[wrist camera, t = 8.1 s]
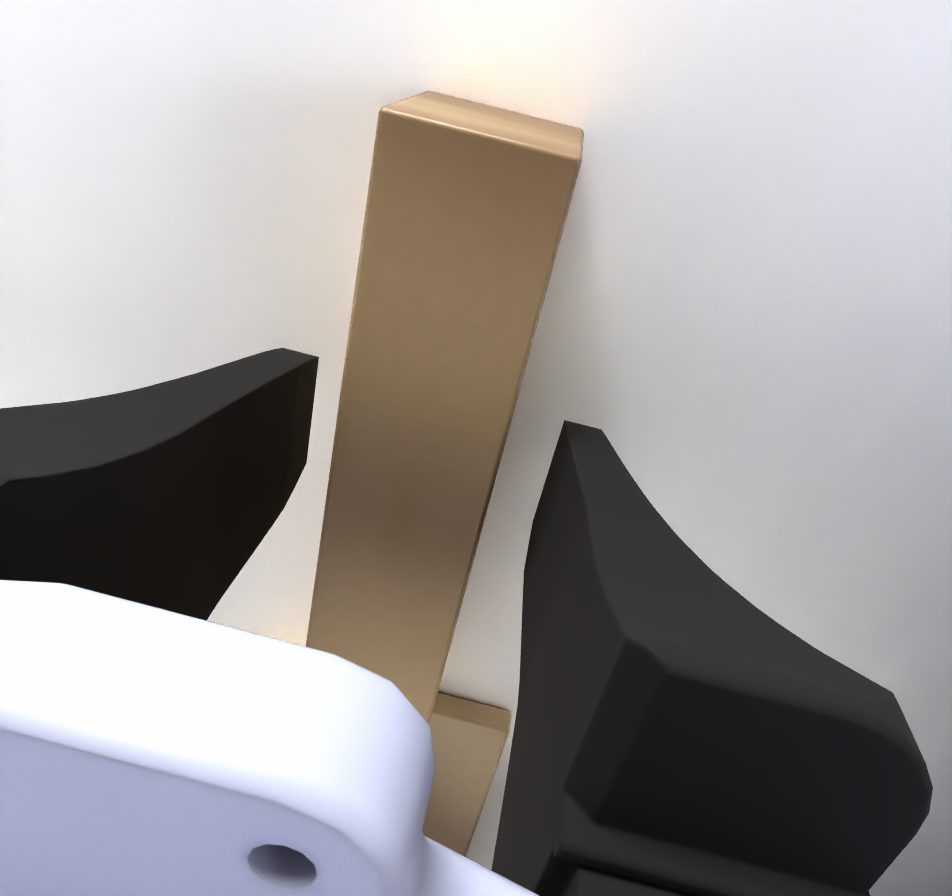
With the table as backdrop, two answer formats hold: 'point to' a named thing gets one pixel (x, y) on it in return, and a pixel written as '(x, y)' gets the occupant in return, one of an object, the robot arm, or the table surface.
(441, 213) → the tan upright bar
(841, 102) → the table surface
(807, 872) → the robot arm
